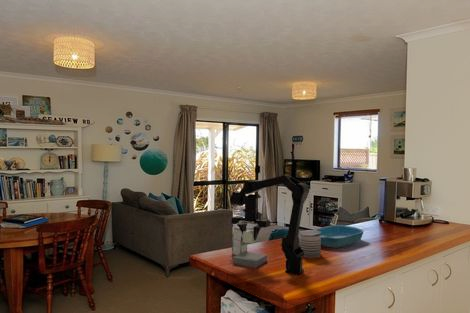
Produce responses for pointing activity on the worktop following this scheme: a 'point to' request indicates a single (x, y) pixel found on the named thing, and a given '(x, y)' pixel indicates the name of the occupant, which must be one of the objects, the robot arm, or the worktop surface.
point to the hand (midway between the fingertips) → (250, 239)
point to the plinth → (249, 259)
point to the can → (310, 243)
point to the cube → (249, 236)
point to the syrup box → (238, 241)
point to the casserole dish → (339, 235)
